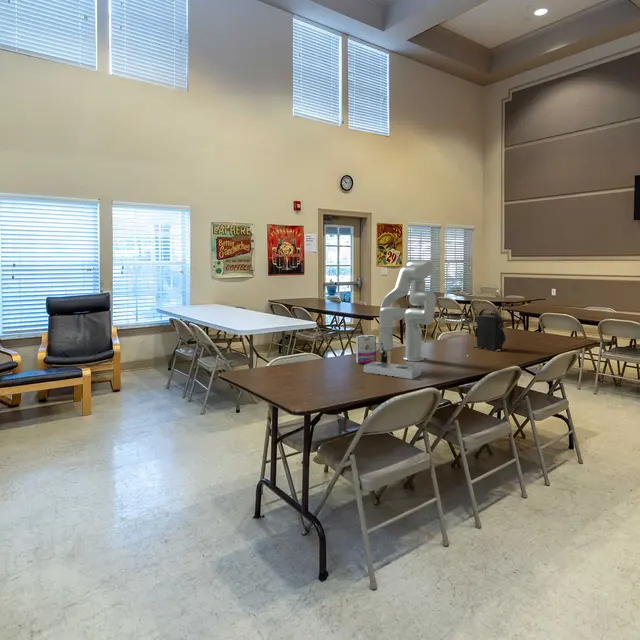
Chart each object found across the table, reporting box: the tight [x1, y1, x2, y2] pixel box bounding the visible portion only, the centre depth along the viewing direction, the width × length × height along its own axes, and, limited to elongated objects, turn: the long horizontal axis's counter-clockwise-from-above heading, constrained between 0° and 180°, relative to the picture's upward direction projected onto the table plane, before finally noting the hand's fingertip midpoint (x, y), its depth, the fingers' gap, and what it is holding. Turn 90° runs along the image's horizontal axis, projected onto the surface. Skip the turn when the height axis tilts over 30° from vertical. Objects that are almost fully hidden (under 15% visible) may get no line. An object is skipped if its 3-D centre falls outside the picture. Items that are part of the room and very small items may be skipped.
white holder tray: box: [363, 361, 422, 380], centre depth 253 cm, size 12×28×4 cm, turn 56°
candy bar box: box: [355, 334, 377, 365], centre depth 280 cm, size 11×5×16 cm, turn 101°
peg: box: [383, 349, 392, 364], centre depth 266 cm, size 4×4×10 cm
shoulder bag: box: [474, 308, 507, 351], centre depth 322 cm, size 23×9×28 cm, turn 34°
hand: (385, 361), depth 267 cm, fingers closed on peg, 4 cm apart
